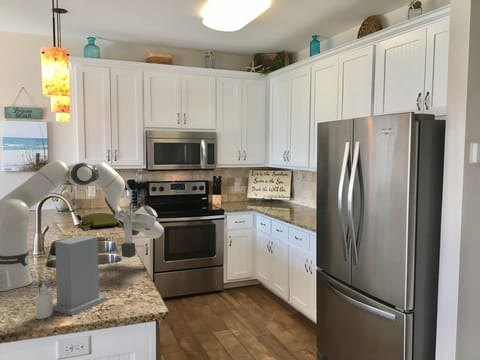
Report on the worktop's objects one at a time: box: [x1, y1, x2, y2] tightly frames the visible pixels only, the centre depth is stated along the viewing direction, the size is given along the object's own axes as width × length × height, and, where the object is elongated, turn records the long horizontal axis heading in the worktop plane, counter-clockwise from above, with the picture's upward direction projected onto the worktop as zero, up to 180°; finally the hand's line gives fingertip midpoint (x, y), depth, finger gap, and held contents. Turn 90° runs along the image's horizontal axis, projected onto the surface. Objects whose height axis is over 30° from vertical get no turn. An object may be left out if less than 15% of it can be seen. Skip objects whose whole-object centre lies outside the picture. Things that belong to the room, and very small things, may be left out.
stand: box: [52, 235, 106, 316], centre depth 151 cm, size 16×12×26 cm
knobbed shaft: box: [120, 210, 137, 259], centre depth 187 cm, size 22×5×4 cm
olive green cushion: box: [80, 212, 123, 231], centre depth 313 cm, size 35×31×10 cm
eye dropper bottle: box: [35, 283, 54, 320], centre depth 141 cm, size 4×6×12 cm
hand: (123, 211), depth 185 cm, fingers closed on knobbed shaft, 2 cm apart
